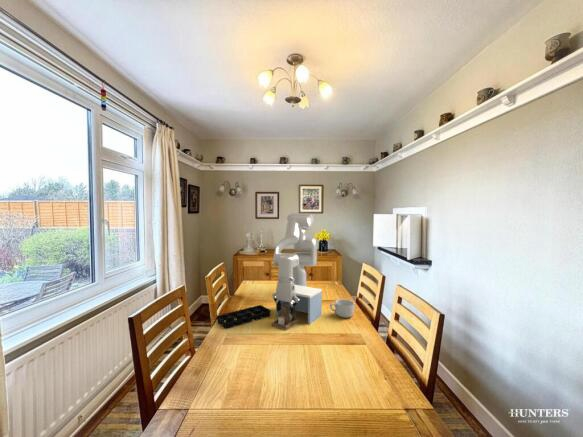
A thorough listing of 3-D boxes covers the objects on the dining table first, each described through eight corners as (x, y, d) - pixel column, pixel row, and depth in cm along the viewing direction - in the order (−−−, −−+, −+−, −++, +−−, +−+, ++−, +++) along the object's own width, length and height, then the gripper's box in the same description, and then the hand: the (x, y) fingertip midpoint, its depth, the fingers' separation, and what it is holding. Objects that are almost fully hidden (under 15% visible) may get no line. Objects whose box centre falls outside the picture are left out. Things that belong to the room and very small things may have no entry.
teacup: (352, 312, 156) (353, 299, 156) (355, 320, 146) (355, 305, 146) (329, 311, 158) (329, 298, 158) (330, 319, 147) (330, 304, 147)
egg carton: (211, 324, 141) (211, 317, 141) (253, 308, 164) (253, 302, 164) (232, 333, 130) (232, 326, 130) (274, 315, 153) (274, 309, 153)
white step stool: (289, 307, 164) (289, 283, 163) (321, 315, 152) (321, 289, 152) (276, 315, 152) (276, 289, 151) (309, 324, 140) (310, 295, 140)
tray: (284, 318, 148) (284, 301, 147) (298, 322, 143) (298, 304, 143) (271, 326, 138) (271, 307, 137) (286, 330, 133) (286, 311, 133)
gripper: (303, 280, 138) (303, 313, 138) (276, 275, 147) (276, 306, 148) (295, 283, 132) (295, 318, 132) (268, 278, 141) (268, 311, 141)
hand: (285, 312), depth 140 cm, fingers open, 8 cm apart
